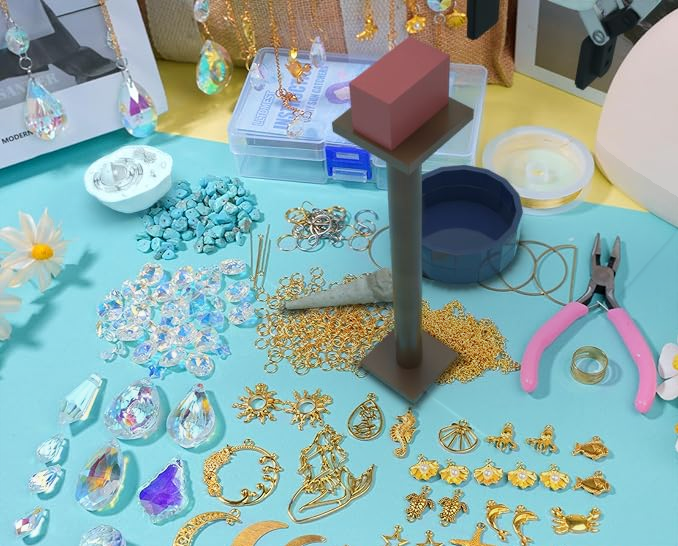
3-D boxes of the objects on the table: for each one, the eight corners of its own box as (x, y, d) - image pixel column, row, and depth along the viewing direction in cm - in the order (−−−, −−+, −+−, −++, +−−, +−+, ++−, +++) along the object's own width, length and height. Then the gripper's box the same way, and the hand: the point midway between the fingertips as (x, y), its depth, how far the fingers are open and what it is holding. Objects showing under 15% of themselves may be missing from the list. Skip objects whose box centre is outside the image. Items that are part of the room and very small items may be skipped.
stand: (405, 322, 98) (396, 70, 69) (458, 358, 95) (474, 109, 65) (360, 366, 95) (331, 122, 66) (413, 405, 92) (408, 165, 62)
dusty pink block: (410, 83, 68) (409, 35, 64) (449, 102, 66) (450, 54, 62) (352, 129, 65) (348, 82, 61) (391, 151, 63) (389, 104, 60)
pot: (449, 182, 111) (450, 148, 106) (540, 233, 104) (546, 200, 99) (377, 247, 105) (374, 215, 100) (469, 306, 99) (471, 274, 94)
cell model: (186, 213, 111) (173, 177, 106) (98, 234, 111) (80, 198, 105) (177, 163, 117) (164, 126, 112) (93, 182, 116) (76, 145, 111)
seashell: (417, 302, 100) (416, 286, 96) (290, 328, 100) (283, 313, 96) (410, 272, 102) (408, 254, 98) (285, 298, 102) (278, 281, 98)
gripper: (737, -187, 45) (665, 71, 60) (483, -252, 53) (473, -10, 67) (664, -127, 43) (606, 129, 57) (408, -205, 50) (413, 37, 64)
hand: (534, 54), depth 62 cm, fingers open, 9 cm apart
